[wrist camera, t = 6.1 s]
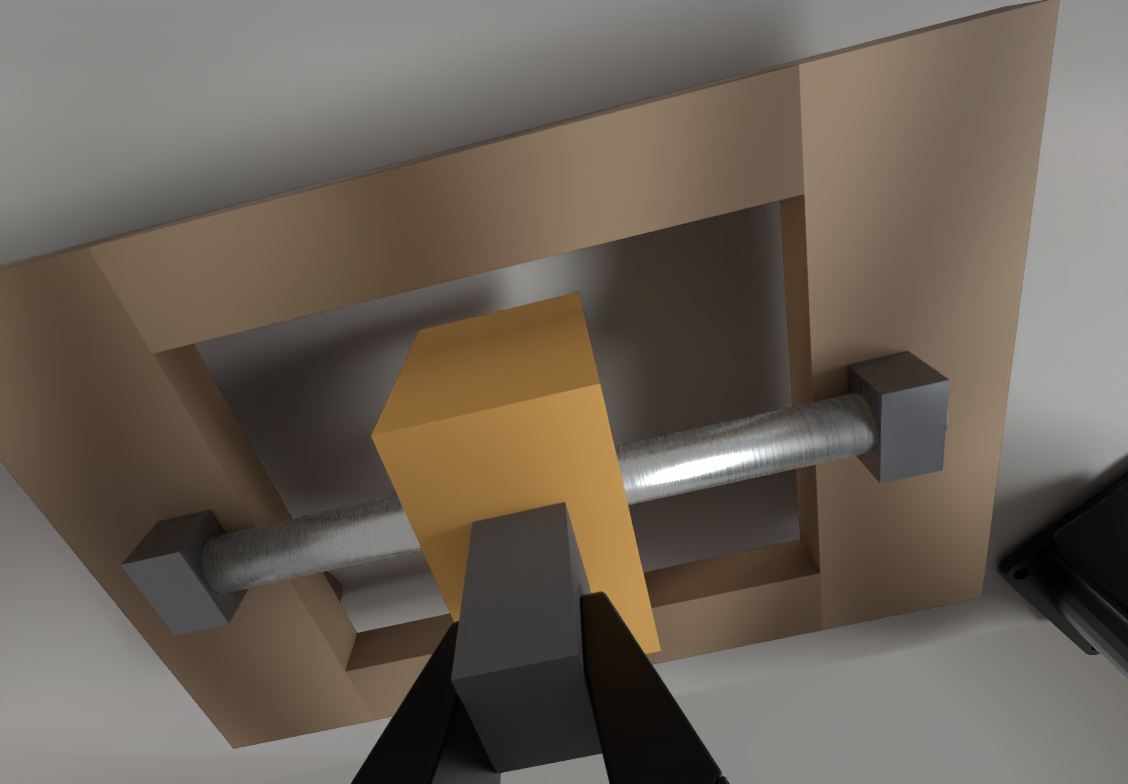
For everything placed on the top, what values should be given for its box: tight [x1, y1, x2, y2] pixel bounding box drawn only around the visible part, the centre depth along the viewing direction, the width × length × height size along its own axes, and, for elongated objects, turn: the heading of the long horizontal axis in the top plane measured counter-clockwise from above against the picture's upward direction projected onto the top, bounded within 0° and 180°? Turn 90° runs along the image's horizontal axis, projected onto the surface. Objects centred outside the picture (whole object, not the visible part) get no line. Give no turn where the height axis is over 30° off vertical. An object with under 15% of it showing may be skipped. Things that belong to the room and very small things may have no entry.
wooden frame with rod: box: [0, 0, 1060, 749], centre depth 14 cm, size 20×13×4 cm, turn 103°
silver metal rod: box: [121, 351, 950, 635], centre depth 12 cm, size 16×2×1 cm, turn 103°
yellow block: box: [371, 292, 661, 773], centre depth 11 cm, size 4×6×8 cm, turn 13°
